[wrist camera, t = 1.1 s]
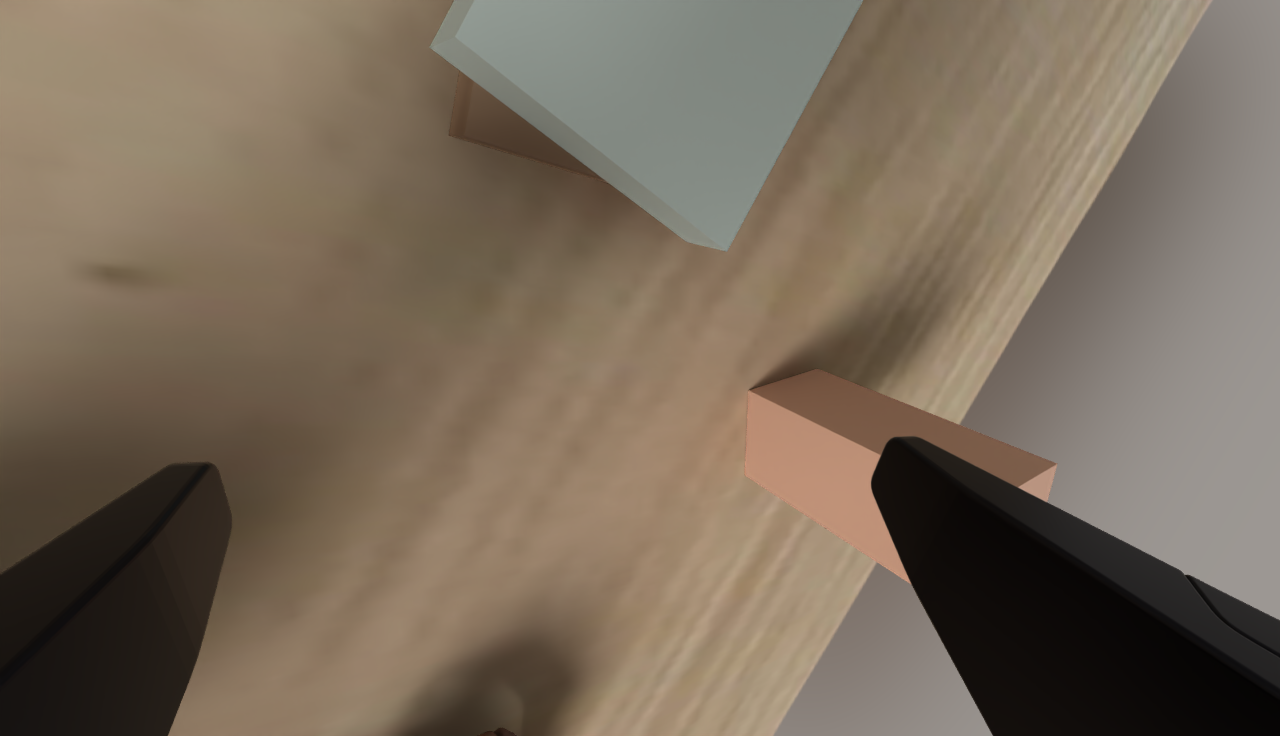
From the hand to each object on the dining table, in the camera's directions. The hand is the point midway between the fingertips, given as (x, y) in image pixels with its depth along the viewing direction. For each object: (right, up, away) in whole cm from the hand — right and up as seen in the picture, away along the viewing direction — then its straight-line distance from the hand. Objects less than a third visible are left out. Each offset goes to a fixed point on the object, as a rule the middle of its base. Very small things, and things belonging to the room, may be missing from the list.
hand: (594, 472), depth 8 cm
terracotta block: (+8, -1, +22) cm, 23 cm away
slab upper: (+1, +12, +10) cm, 16 cm away
